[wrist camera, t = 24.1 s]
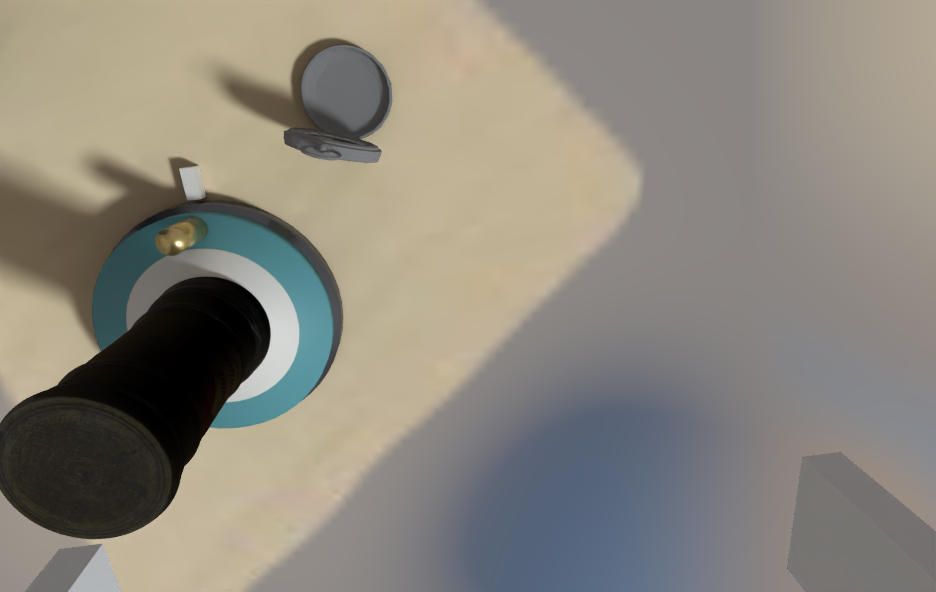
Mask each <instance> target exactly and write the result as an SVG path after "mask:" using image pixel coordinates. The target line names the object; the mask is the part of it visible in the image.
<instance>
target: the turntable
mask: <svg viewBox="0 0 936 592" xmlns="http://www.w3.org/2000/svg"><path fill="white" fill-rule="evenodd" d="M195 277H218V278H223V279H227V280H230V281H233V282H235V283H237V284H239V285H241V286H242V287H244V288H245V289H247V290H248V291H249V292H250V293H252V294H253V295H254V296H255V297H256V298H257V299H258V301H259V302H260V303H261V305H262V306H263V308H264V310H265V312H266V314H267V316H268V319H269V323H270V329H271V339H270V346H269V349H268V352H267V355H266V357H265V359H264V360H263V362H262V363H261V364H260V366H259V367H258V368H257V369H256V370H255V371H254V372H253V373H252V375H251V376H250V377H249V378H248V379H247V380H245V381H244V382H243V383H241V384H240V386H239V388H238V389H237V391H236V392H235V393H234V394H233V395H232V396H231V397H229V398H228V400H227V401H226V403H225V404H224V406H223V407H222V409H221V410H220V412H219V413H218V415H217V417H216V418H215V420H214V421H213V423H212V424H211V426H210V427H213V428H238V427H246V426H251V425H255V424H259V423H263V422H266V421H268V420H271V419H274V418H276V417H278V416H280V415H281V414H283V413H285V412H287V411H288V410H290V409H291V408H293V407H294V406H296V405H297V404H298V403H299V402H300V401H301V400H302V399H304V398H305V397H306V396H307V395H308V393H309V392H310V391H311V390H312V389H313V387H314V386H315V385H316V383H317V381H318V380H319V378H320V376H321V375H322V373H323V370H324V368H325V365H326V363H327V360H328V358H329V355H330V351H331V347H332V343H333V336H334V315H333V310H332V304H331V301H330V298H329V295H328V292H327V289H326V287H325V285H324V283H323V280H322V278H321V276H320V275H319V273H318V272H317V270H316V269H315V267H314V266H313V264H312V263H311V262H310V261H309V259H308V258H307V257H306V256H305V255H304V254H303V252H302V251H301V250H299V249H298V248H297V247H296V246H295V245H294V244H293V243H292V242H291V241H289V240H288V239H287V238H285V237H284V236H282V235H281V234H280V233H278V232H276V231H275V230H273V229H271V228H269V227H267V226H266V225H264V224H261V223H259V222H256V221H254V220H251V219H249V218H245V217H242V216H238V215H235V214H229V213H222V212H210V211H199V212H189V213H183V214H178V215H174V216H170V217H167V218H165V219H162V220H160V221H157V222H155V223H153V224H150V225H148V226H146V227H144V228H142V229H141V230H139V231H137V232H135V233H134V234H132V235H131V236H130V237H128V238H127V239H126V240H125V241H123V242H122V243H121V244H120V245H119V246H118V247H117V248H116V249H115V250H114V251H113V253H112V254H111V255H110V256H109V258H108V259H107V261H106V263H105V264H104V266H103V267H102V270H101V272H100V274H99V276H98V278H97V282H96V286H95V289H94V293H93V302H92V317H93V325H94V330H95V335H96V338H97V341H98V344H99V347H100V350H101V351H102V350H104V349H105V348H106V347H108V346H109V345H110V344H112V343H113V342H114V341H116V340H117V339H118V338H119V337H121V336H122V335H123V334H124V333H126V332H127V331H129V330H130V329H131V328H132V326H133V324H134V323H135V322H136V321H137V320H138V319H139V318H140V317H141V316H142V315H143V314H145V313H146V312H147V311H148V309H149V308H150V306H151V305H152V304H153V303H154V302H155V301H156V300H157V299H158V298H159V297H160V296H161V295H162V294H163V293H164V292H165V291H166V290H167V289H168V288H170V287H171V286H173V285H174V284H176V283H178V282H180V281H183V280H186V279H190V278H195Z"/></svg>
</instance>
